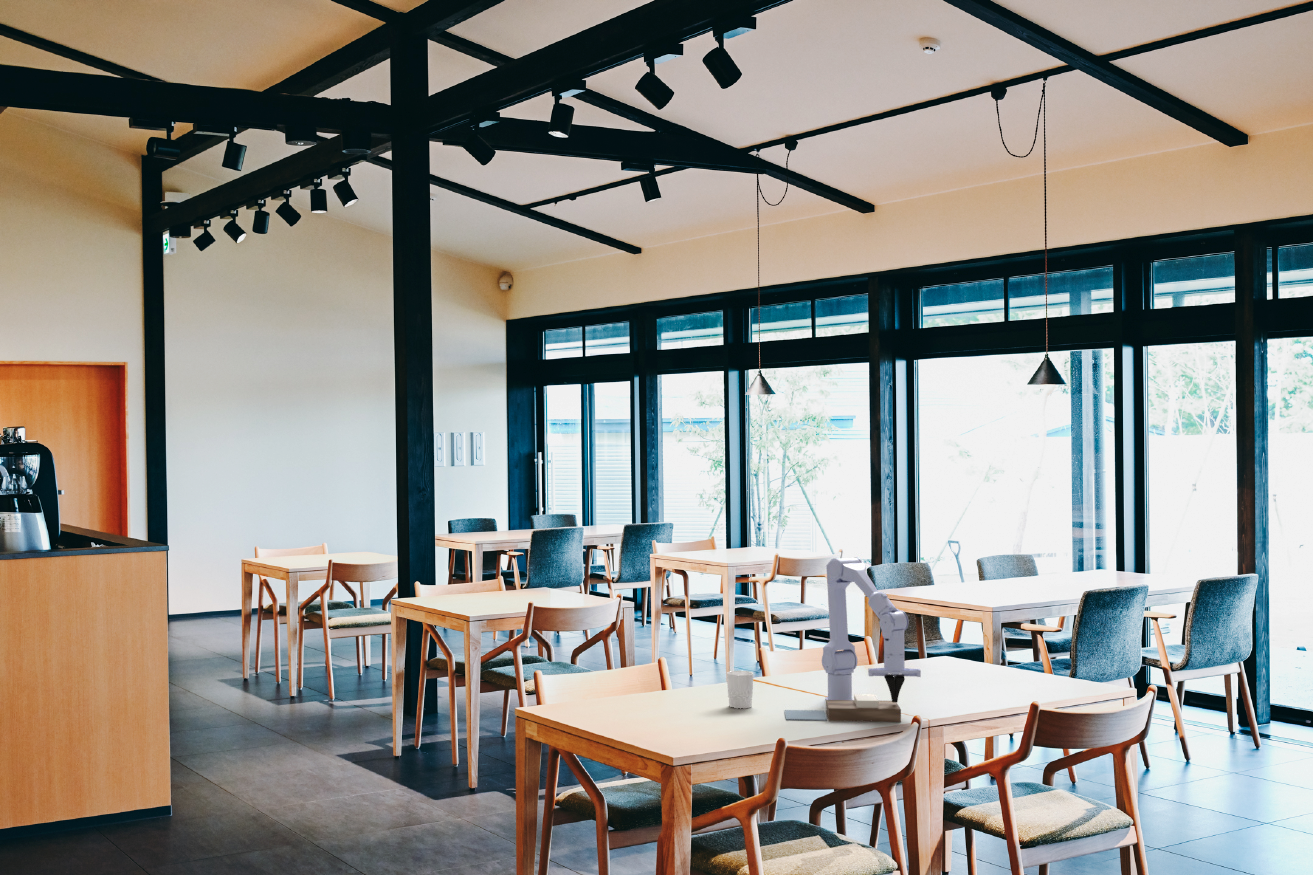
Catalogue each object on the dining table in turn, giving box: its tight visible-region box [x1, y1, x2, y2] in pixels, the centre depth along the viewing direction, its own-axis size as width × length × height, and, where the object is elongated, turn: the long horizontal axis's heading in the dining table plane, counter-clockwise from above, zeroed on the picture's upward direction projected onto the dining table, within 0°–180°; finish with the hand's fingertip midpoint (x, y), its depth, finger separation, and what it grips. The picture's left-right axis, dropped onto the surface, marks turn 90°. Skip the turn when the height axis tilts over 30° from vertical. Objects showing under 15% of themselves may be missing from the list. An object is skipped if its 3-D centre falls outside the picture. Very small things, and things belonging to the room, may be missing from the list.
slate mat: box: [784, 709, 828, 722], centre depth 333 cm, size 12×12×1 cm
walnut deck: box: [825, 699, 902, 723], centre depth 332 cm, size 12×20×4 cm, turn 85°
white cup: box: [726, 670, 754, 710], centre depth 347 cm, size 8×8×10 cm
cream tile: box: [853, 693, 880, 708], centre depth 332 cm, size 9×6×2 cm, turn 175°
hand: (894, 701), depth 331 cm, fingers closed
